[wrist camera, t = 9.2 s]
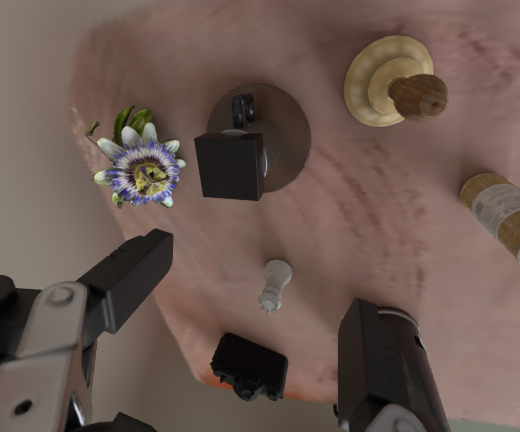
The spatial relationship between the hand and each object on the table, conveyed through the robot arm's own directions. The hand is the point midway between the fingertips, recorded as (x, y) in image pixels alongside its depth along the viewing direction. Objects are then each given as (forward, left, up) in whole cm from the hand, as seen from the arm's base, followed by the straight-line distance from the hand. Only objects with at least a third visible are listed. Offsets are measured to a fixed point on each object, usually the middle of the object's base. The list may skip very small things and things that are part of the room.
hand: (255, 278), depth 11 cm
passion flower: (-7, +20, -24) cm, 32 cm away
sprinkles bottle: (0, -20, -24) cm, 31 cm away
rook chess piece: (-20, -1, -24) cm, 32 cm away
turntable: (-1, +6, -24) cm, 25 cm away
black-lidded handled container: (0, +6, -23) cm, 24 cm away
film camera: (-45, -1, -24) cm, 51 cm away
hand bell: (+8, -6, -24) cm, 26 cm away
